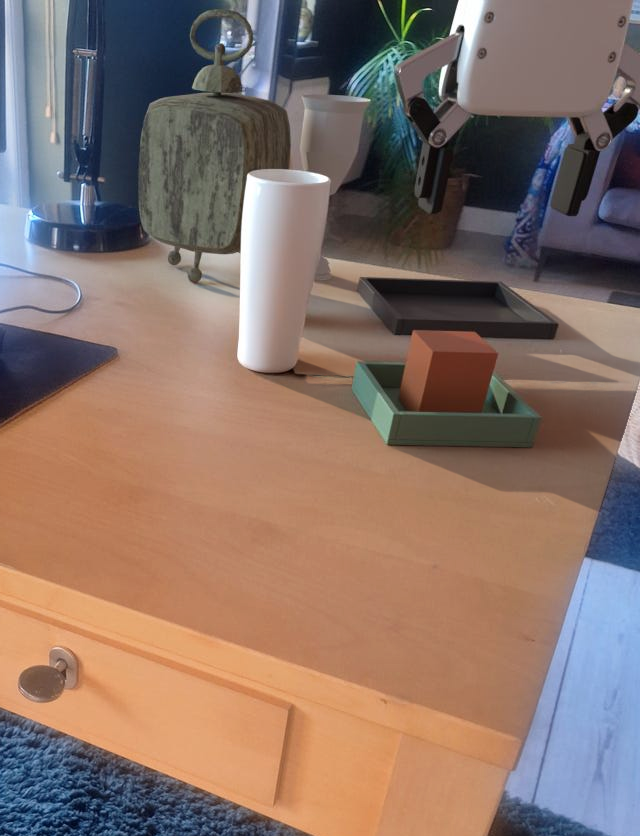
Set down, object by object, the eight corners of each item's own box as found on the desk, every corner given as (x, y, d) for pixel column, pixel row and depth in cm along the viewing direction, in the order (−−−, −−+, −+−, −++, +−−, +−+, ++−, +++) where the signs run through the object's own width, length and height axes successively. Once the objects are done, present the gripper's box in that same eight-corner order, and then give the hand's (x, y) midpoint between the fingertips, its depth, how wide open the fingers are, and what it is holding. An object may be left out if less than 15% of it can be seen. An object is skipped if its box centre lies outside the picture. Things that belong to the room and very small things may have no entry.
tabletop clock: (276, 282, 100) (308, 14, 85) (240, 299, 94) (268, 13, 79) (167, 260, 106) (180, 5, 91) (127, 275, 99) (133, 4, 84)
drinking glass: (261, 347, 81) (282, 166, 72) (320, 367, 78) (349, 179, 69) (212, 362, 77) (228, 172, 68) (271, 384, 74) (296, 187, 65)
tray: (479, 392, 74) (487, 364, 73) (532, 447, 66) (542, 417, 64) (351, 389, 74) (356, 360, 72) (386, 445, 65) (393, 414, 63)
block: (457, 400, 72) (475, 331, 68) (478, 425, 68) (498, 353, 64) (397, 399, 71) (412, 329, 68) (415, 423, 67) (432, 351, 64)
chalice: (291, 286, 99) (315, 100, 88) (271, 270, 104) (291, 93, 93) (351, 285, 100) (382, 102, 90) (328, 270, 106) (355, 95, 95)
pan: (496, 299, 99) (501, 281, 97) (553, 343, 86) (559, 323, 85) (356, 294, 97) (359, 276, 96) (393, 338, 85) (397, 318, 84)
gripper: (680, -100, 54) (590, 202, 65) (408, -112, 53) (361, 198, 64) (752, -110, 48) (641, 225, 59) (448, -123, 47) (389, 221, 58)
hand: (496, 211), depth 61 cm, fingers open, 9 cm apart
